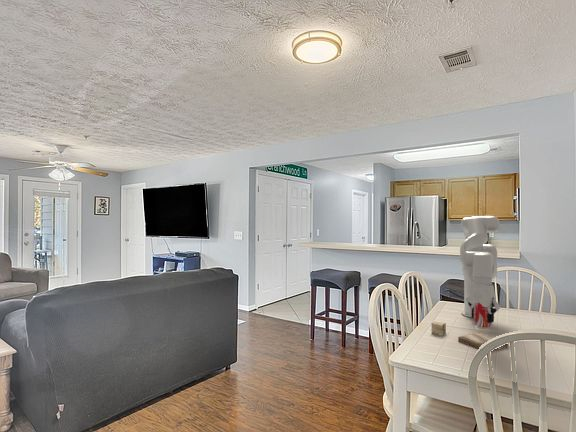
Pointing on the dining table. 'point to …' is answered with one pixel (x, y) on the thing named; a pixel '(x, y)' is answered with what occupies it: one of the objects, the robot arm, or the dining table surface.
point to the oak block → (438, 327)
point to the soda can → (481, 316)
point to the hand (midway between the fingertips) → (482, 319)
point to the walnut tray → (476, 340)
